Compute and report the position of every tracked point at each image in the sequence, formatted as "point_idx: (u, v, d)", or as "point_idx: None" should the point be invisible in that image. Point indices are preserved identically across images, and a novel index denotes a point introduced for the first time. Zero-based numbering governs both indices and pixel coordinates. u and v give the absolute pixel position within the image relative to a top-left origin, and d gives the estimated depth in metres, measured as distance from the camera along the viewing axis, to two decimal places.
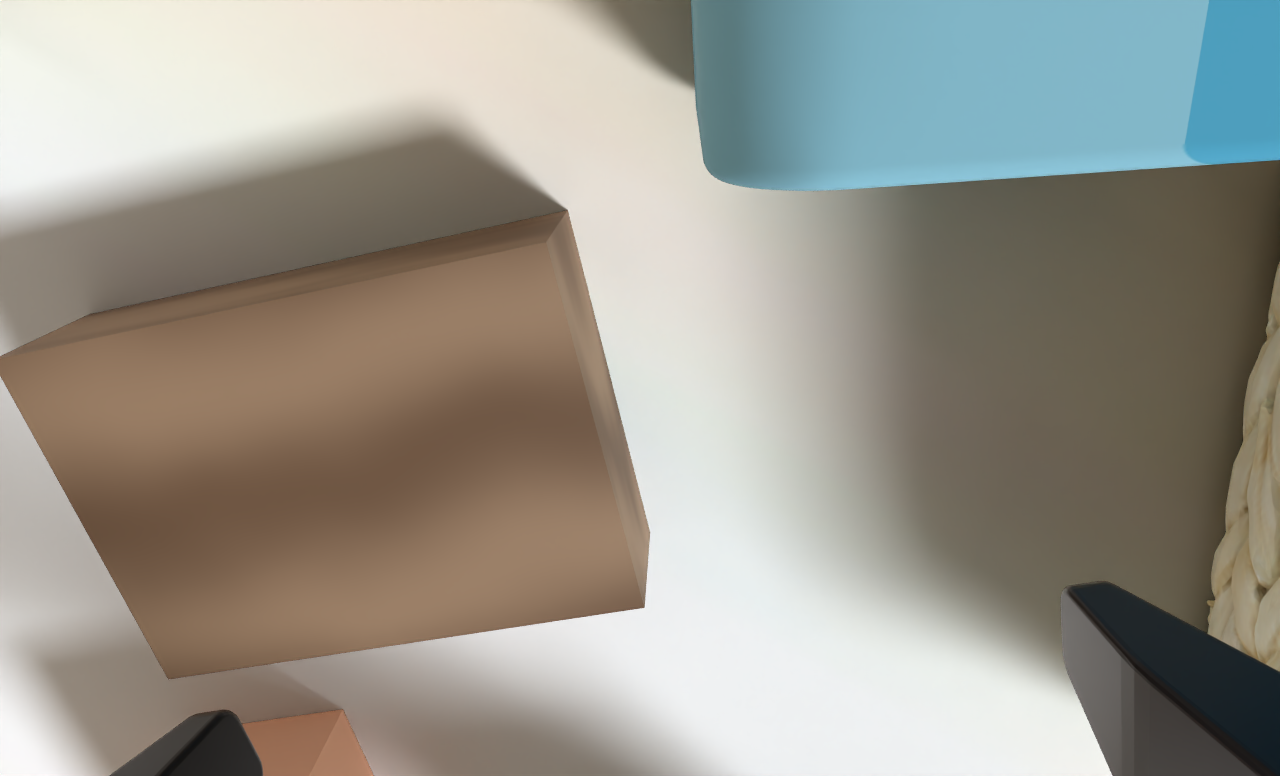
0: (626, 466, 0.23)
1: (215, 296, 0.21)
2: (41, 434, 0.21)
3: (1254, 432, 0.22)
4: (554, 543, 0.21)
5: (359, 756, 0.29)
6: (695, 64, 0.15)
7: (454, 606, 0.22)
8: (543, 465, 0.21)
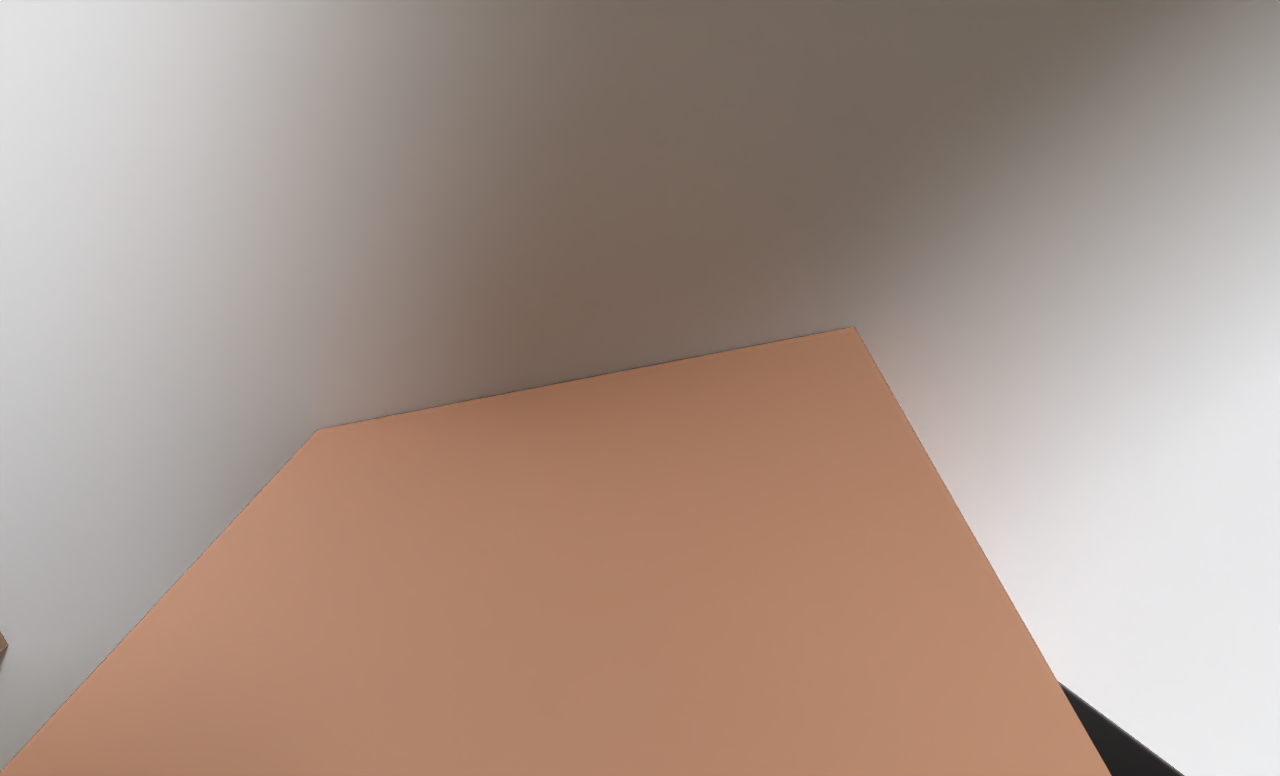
0: None
1: None
2: None
3: None
4: None
5: (472, 411, 0.09)
6: None
7: None
8: None
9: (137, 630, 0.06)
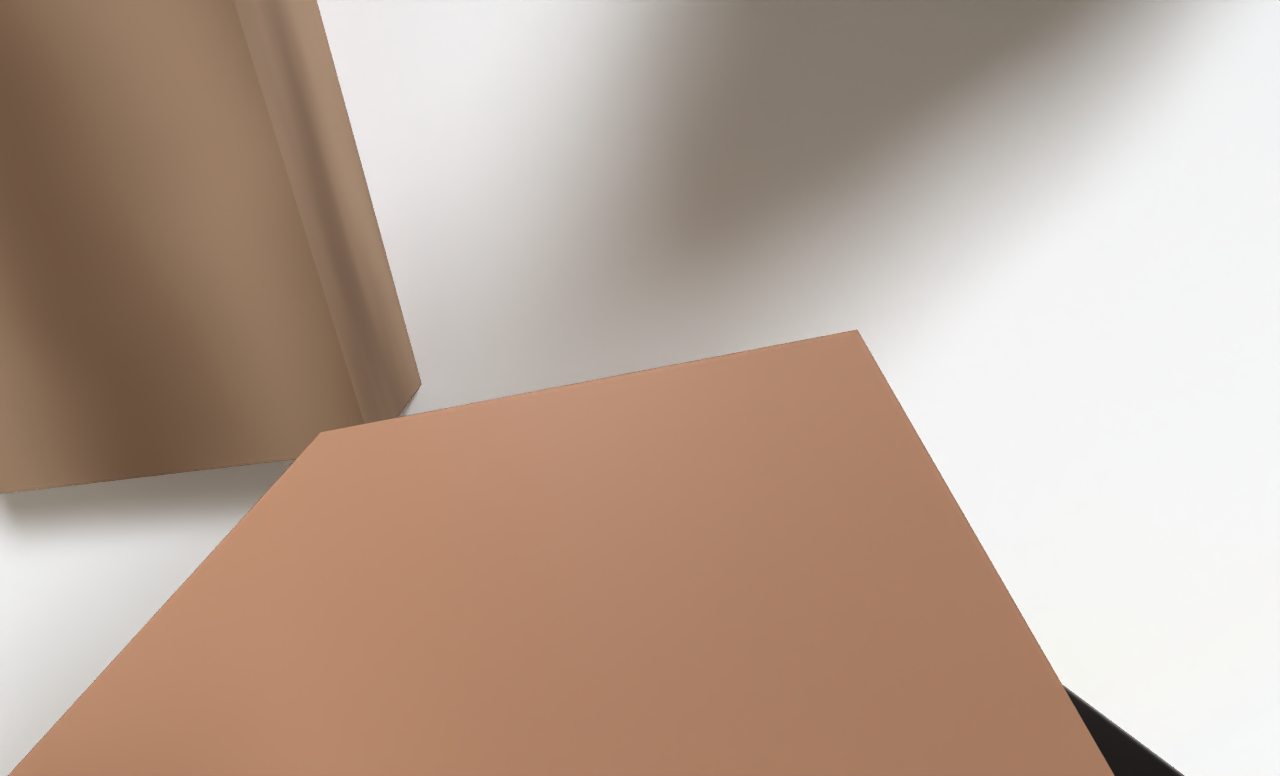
0: None
1: None
2: (27, 481, 0.18)
3: None
4: None
5: (476, 414, 0.09)
6: None
7: None
8: None
9: (143, 633, 0.06)
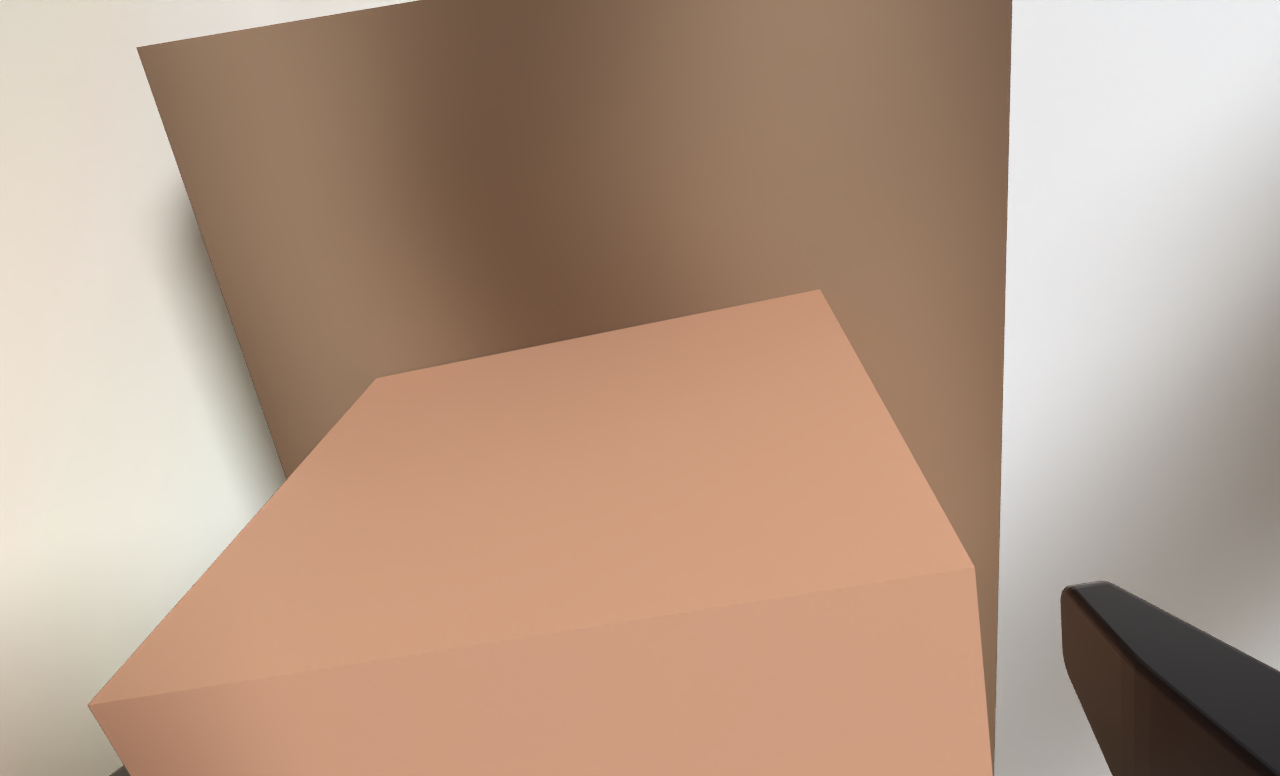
0: None
1: None
2: None
3: None
4: (799, 114, 0.10)
5: (507, 360, 0.11)
6: None
7: (928, 352, 0.11)
8: (605, 114, 0.10)
9: (264, 510, 0.08)
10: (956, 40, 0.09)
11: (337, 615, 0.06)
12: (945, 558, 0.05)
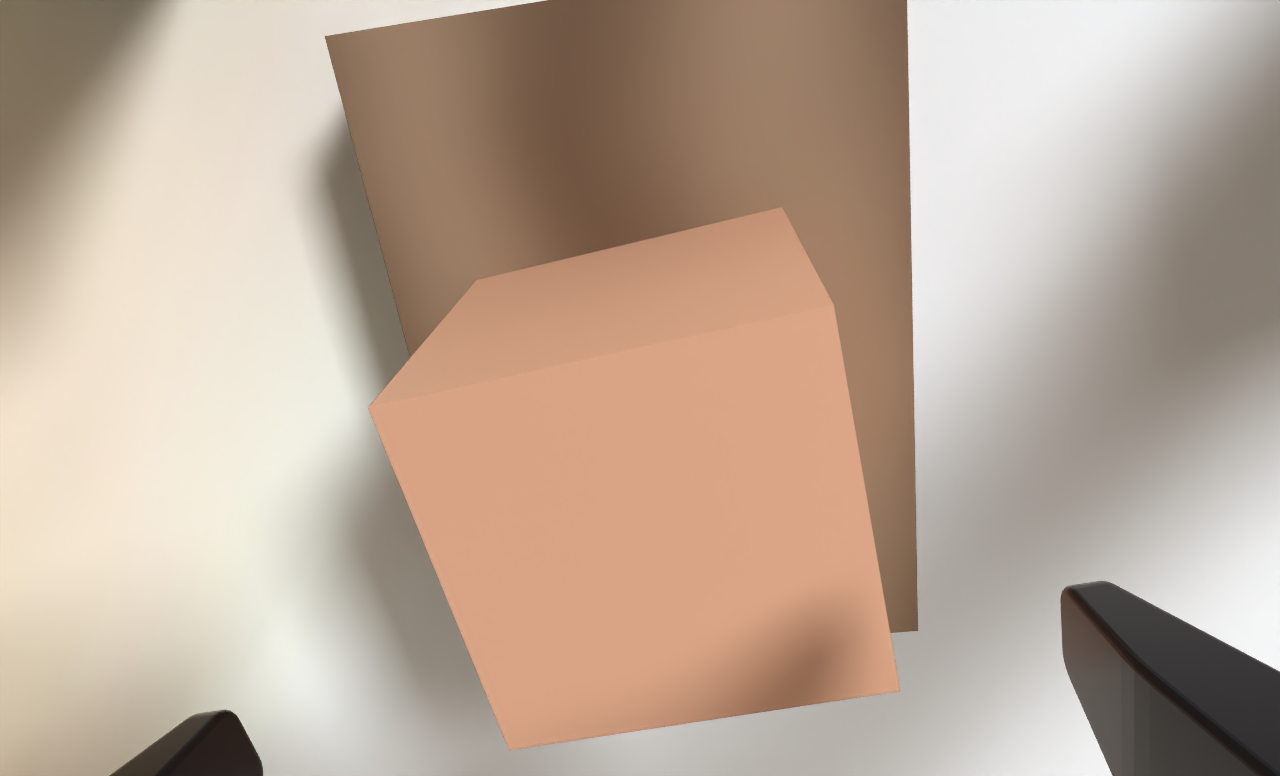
0: None
1: None
2: None
3: None
4: (767, 82, 0.15)
5: (568, 262, 0.16)
6: None
7: (859, 249, 0.16)
8: (638, 82, 0.15)
9: (429, 338, 0.13)
10: (871, 32, 0.14)
11: (495, 364, 0.11)
12: (820, 304, 0.10)
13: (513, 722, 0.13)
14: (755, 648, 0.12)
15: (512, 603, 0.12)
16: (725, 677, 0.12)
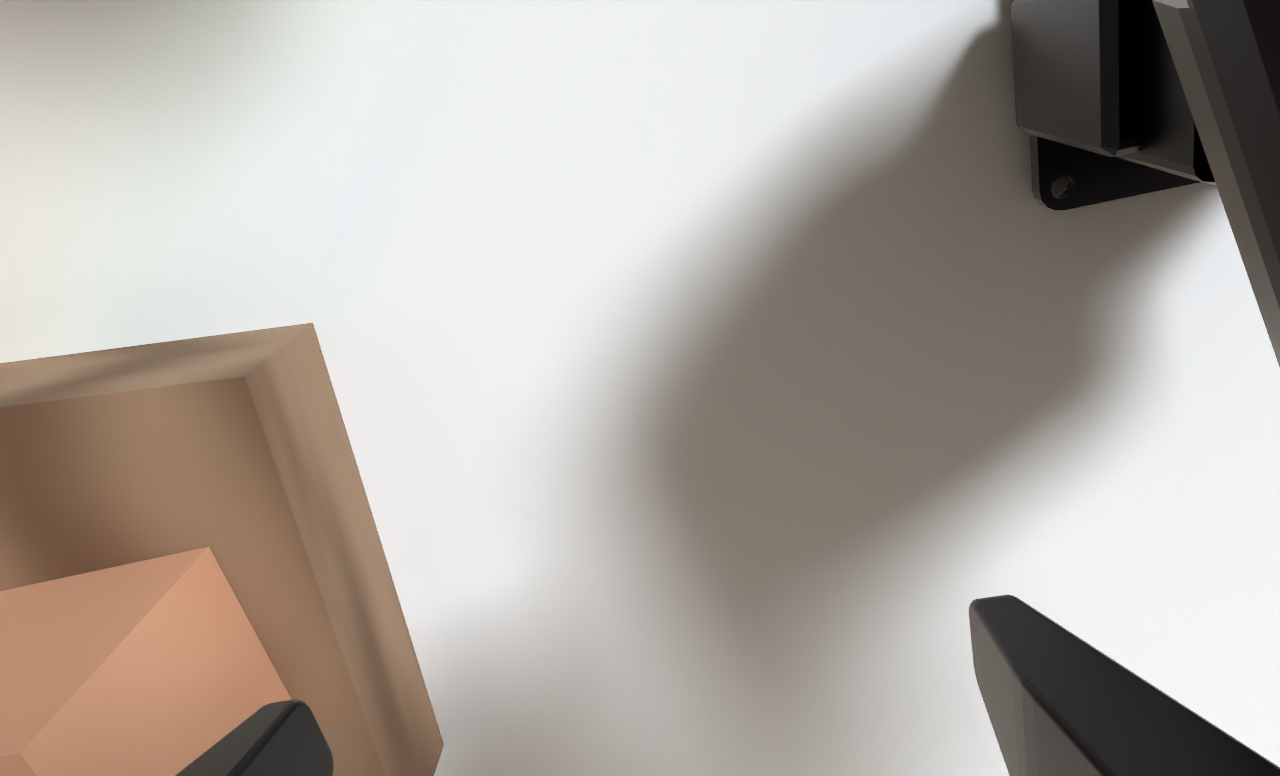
0: (183, 350, 0.20)
1: None
2: None
3: None
4: (169, 464, 0.18)
5: (45, 588, 0.20)
6: None
7: (275, 577, 0.20)
8: (70, 463, 0.19)
9: None
10: (237, 434, 0.18)
11: None
12: (19, 748, 0.14)
13: None
14: None
15: None
16: None
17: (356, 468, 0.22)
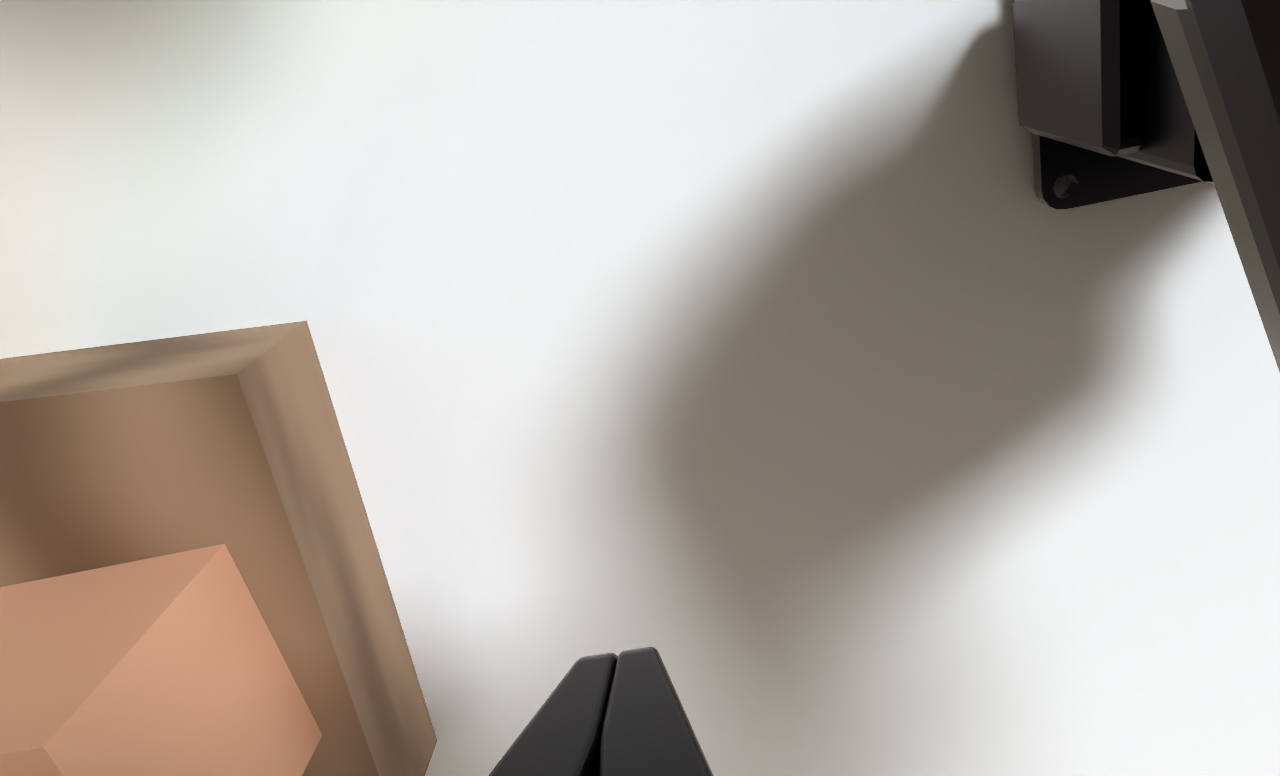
0: (178, 347, 0.20)
1: None
2: None
3: None
4: (163, 460, 0.19)
5: (61, 582, 0.20)
6: None
7: (267, 573, 0.20)
8: (64, 458, 0.19)
9: None
10: (229, 431, 0.18)
11: None
12: (42, 742, 0.14)
13: None
14: None
15: None
16: None
17: (350, 465, 0.22)
